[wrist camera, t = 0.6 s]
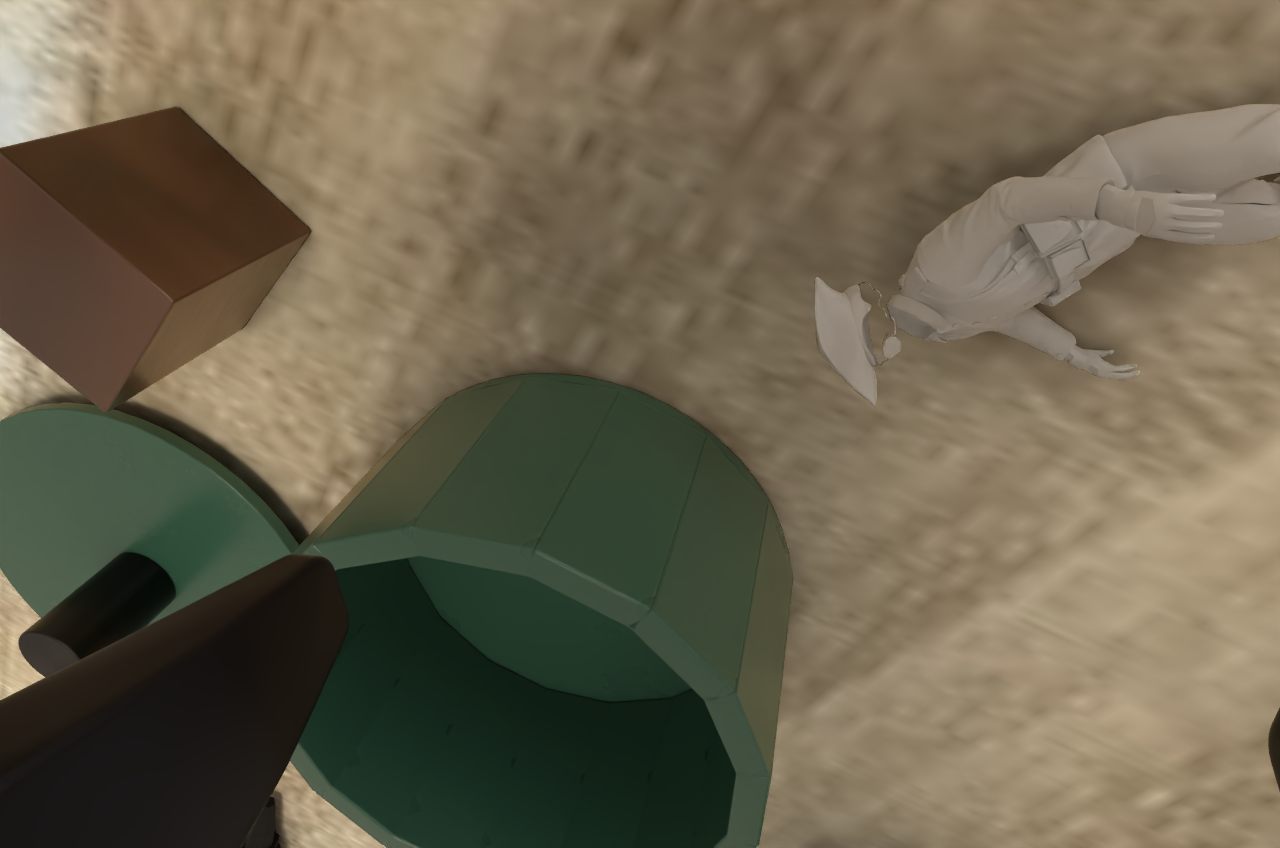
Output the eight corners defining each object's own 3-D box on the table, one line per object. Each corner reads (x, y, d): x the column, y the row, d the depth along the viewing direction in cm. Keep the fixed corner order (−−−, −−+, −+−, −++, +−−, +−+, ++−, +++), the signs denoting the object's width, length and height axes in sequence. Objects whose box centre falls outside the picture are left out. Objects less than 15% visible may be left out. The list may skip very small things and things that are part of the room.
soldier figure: (1425, 241, 17) (930, 529, 19) (1254, 101, 19) (824, 375, 21) (1722, -49, 10) (904, 447, 12) (1406, -218, 12) (752, 231, 15)
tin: (764, 738, 29) (737, 961, 22) (413, 662, 31) (300, 843, 25) (821, 408, 22) (804, 599, 15) (361, 344, 24) (184, 484, 18)
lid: (365, 724, 34) (290, 841, 30) (71, 655, 37) (-38, 753, 32) (299, 427, 26) (185, 524, 22) (-67, 367, 29) (-235, 442, 25)
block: (312, 231, 22) (174, 302, 18) (243, 328, 25) (105, 414, 20) (177, 105, 21) (-6, 147, 17) (118, 219, 24) (-56, 284, 19)
